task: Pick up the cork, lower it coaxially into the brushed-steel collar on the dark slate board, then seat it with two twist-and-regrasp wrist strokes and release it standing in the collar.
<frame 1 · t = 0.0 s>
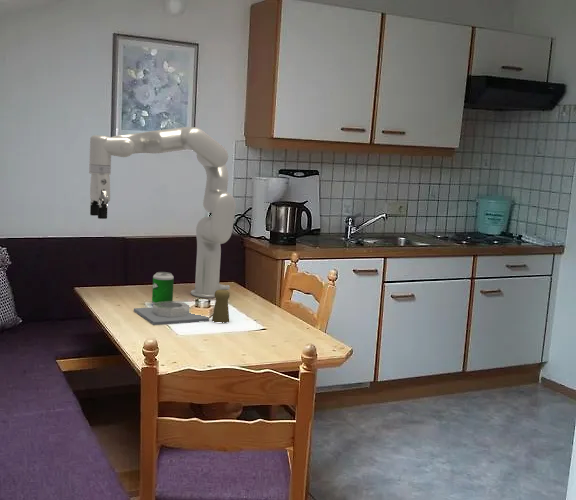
hand: (98, 216, 259), 31 cm above the table, fingers open, 9 cm apart
cork: (220, 321, 246), on the table
soda can: (162, 305, 263), on the table
slate board: (170, 316, 248), on the table
steel collar: (171, 309, 248), on the slate board, point 2 cm above the table
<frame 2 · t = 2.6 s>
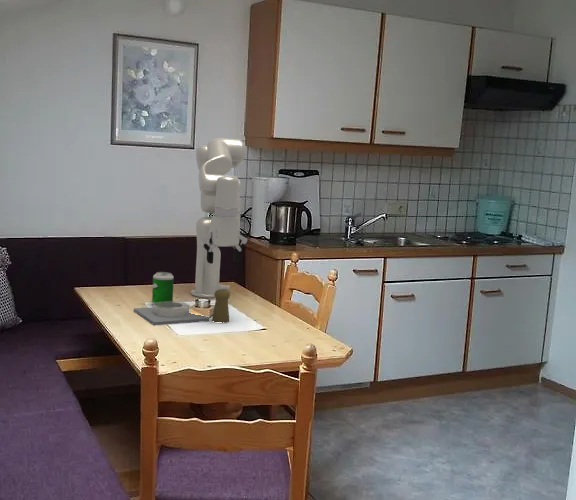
hand: (222, 262, 244), 21 cm above the table, fingers open, 9 cm apart
nothing on the table moved.
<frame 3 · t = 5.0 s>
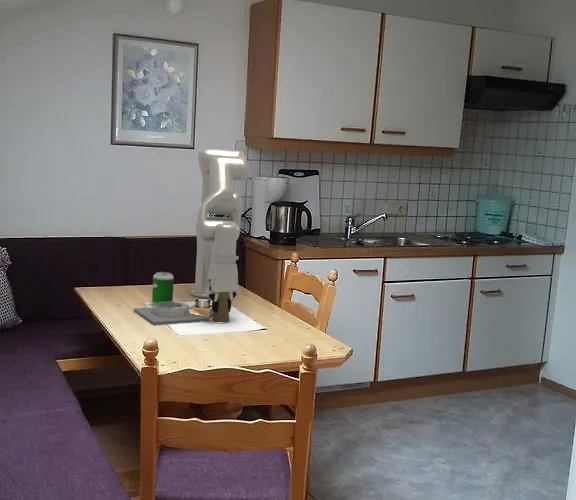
hand: (221, 311, 246), 4 cm above the table, fingers closed on cork, 4 cm apart
cork: (220, 321, 246), on the table, touching gripper
everything else where it was.
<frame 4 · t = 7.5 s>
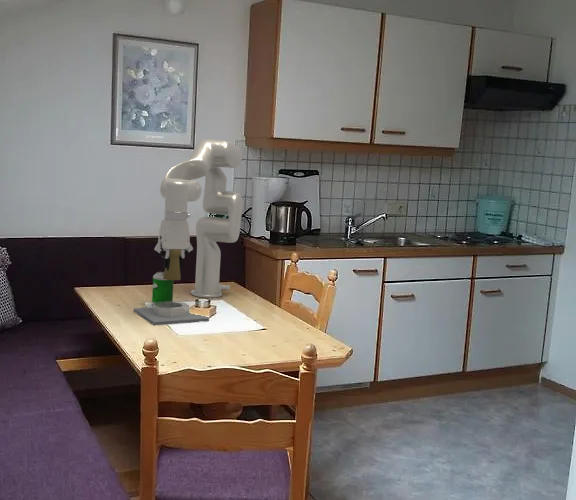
hand: (172, 268, 246), 17 cm above the table, fingers closed on cork, 3 cm apart
cork: (171, 279, 246), point 13 cm above the table, touching gripper
everything else where it was.
when the fingers open (5 cm above the table, at t = 10.1 s): cork stays where it is, resting on slate board.
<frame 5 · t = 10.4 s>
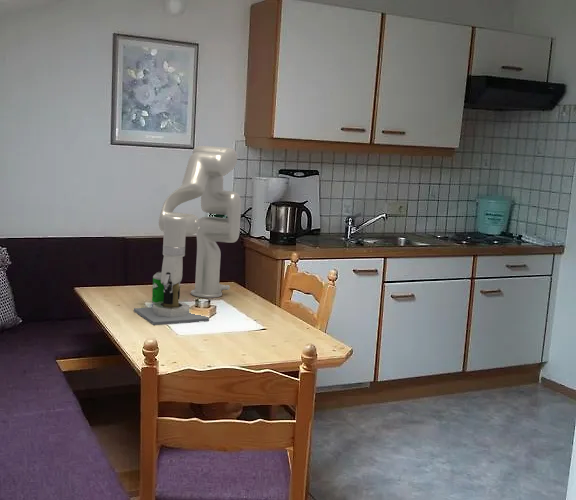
hand: (171, 301, 248), 5 cm above the table, fingers open, 6 cm apart
cork: (170, 313, 248), point 1 cm above the table, touching slate board
everything else where it was.
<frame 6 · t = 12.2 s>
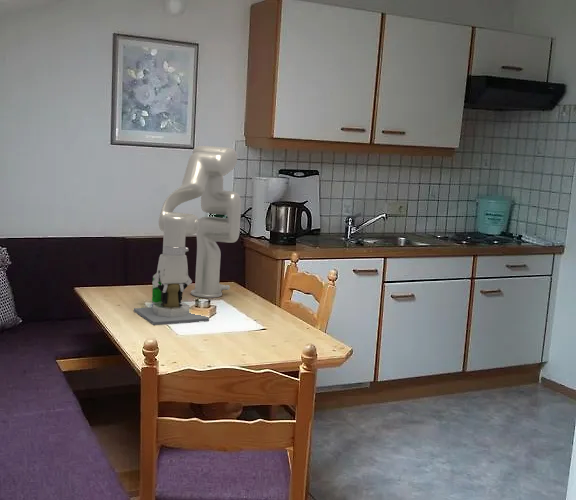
hand: (171, 302, 248), 5 cm above the table, fingers closed on cork, 4 cm apart
cork: (170, 313, 248), point 1 cm above the table, touching gripper, slate board
everything else where it was.
when the fingers open (6 cm above the table, at t = 13.3 s): cork stays where it is, resting on slate board.
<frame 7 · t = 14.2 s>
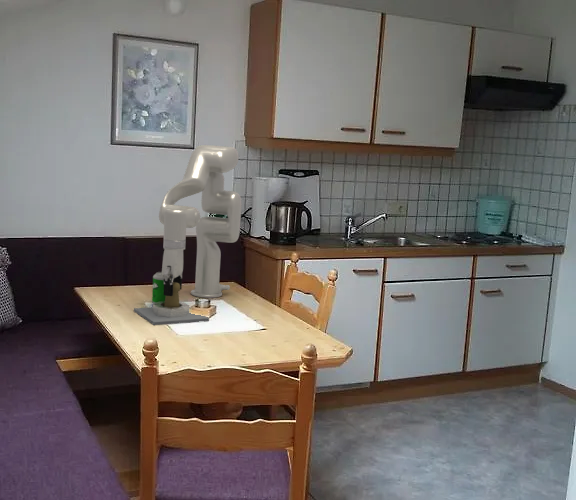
hand: (172, 292, 248), 8 cm above the table, fingers open, 9 cm apart
cork: (171, 313, 248), point 1 cm above the table, touching slate board
everything else where it was.
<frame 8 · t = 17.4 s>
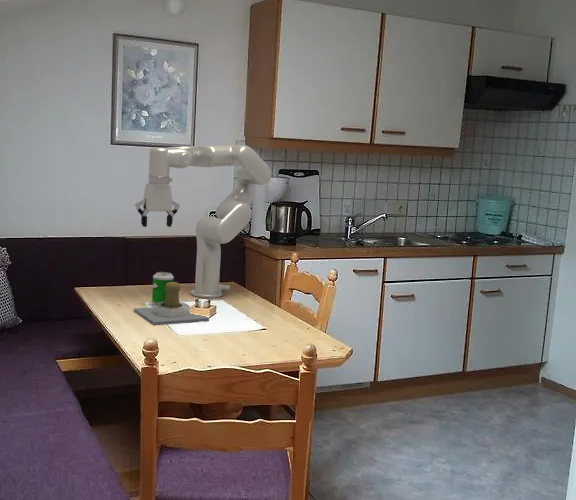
hand: (156, 226, 267), 28 cm above the table, fingers open, 9 cm apart
nothing on the table moved.
at the end: cork 0.2 cm off-centre on the steel collar, point 0.8 cm above the steel collar's base; cork tilted 0°; the gripper is holding nothing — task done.
